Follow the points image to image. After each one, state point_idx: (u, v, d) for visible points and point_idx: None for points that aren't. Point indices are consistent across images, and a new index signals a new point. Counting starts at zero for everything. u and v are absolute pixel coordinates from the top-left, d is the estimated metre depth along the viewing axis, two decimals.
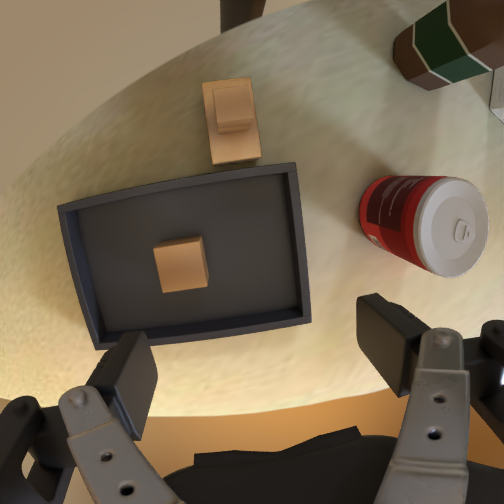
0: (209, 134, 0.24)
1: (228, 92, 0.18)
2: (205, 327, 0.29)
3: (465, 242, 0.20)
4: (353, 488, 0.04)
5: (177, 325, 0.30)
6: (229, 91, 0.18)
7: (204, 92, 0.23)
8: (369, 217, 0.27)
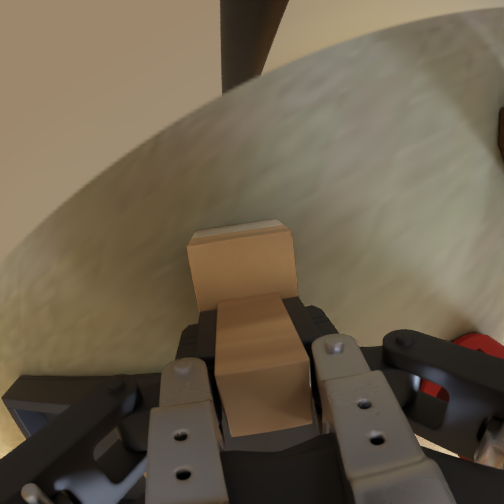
0: None
1: (257, 381, 0.07)
2: None
3: None
4: None
5: None
6: (259, 378, 0.07)
7: (193, 269, 0.12)
8: None
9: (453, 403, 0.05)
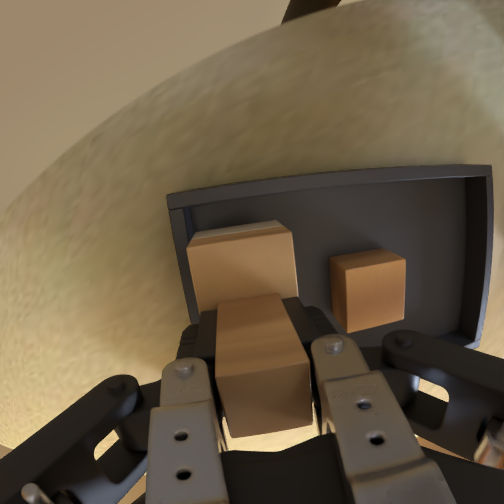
0: None
1: (257, 382, 0.07)
2: None
3: None
4: None
5: None
6: (259, 380, 0.07)
7: (194, 270, 0.12)
8: None
9: (453, 403, 0.05)
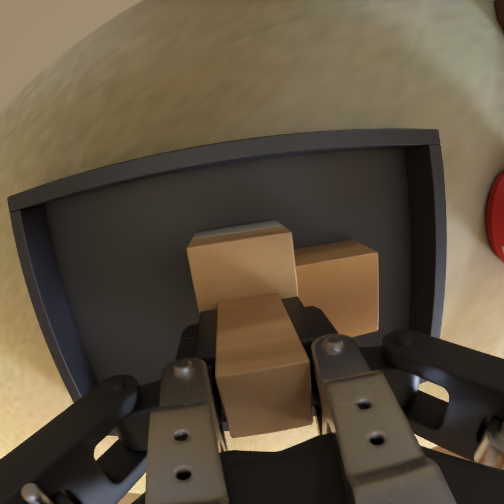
0: None
1: (257, 382, 0.07)
2: None
3: None
4: None
5: None
6: (260, 380, 0.07)
7: (194, 270, 0.12)
8: None
9: (453, 403, 0.05)
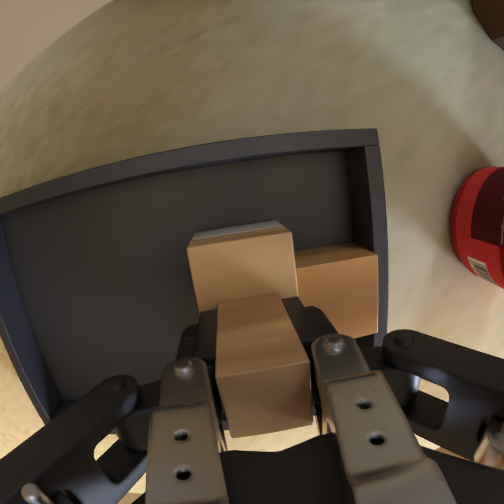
0: None
1: (257, 382, 0.07)
2: None
3: None
4: None
5: None
6: (260, 380, 0.07)
7: (194, 270, 0.12)
8: (478, 231, 0.14)
9: (453, 403, 0.05)
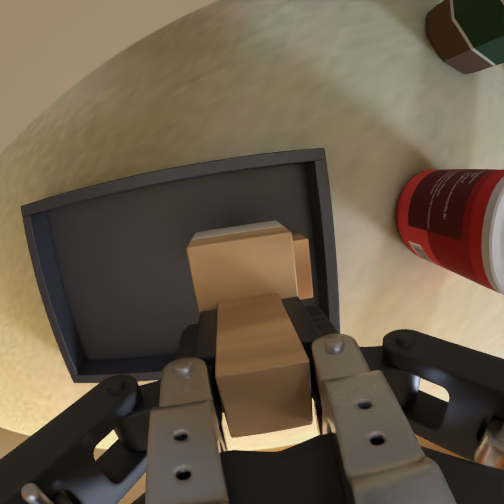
0: None
1: (257, 382, 0.07)
2: None
3: None
4: None
5: (172, 355, 0.23)
6: (259, 379, 0.07)
7: (194, 270, 0.12)
8: (413, 220, 0.20)
9: (453, 403, 0.05)
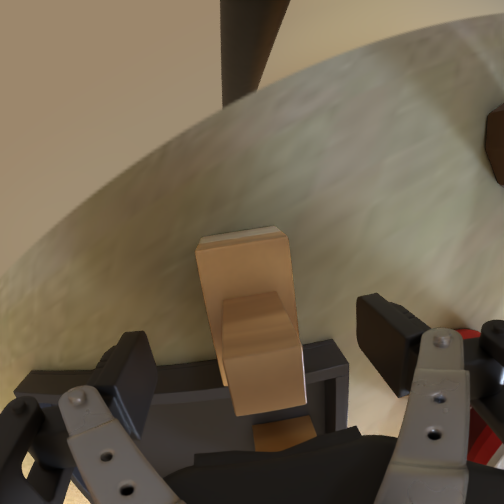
0: (216, 346, 0.14)
1: (258, 364, 0.09)
2: None
3: None
4: (353, 488, 0.04)
5: None
6: (260, 362, 0.09)
7: (201, 271, 0.13)
8: None
9: None
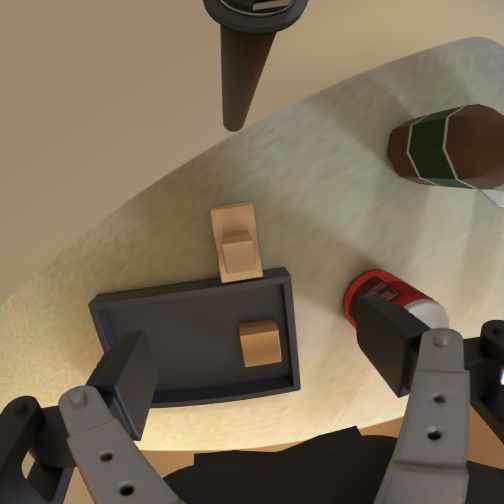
0: (218, 258, 0.29)
1: (235, 247, 0.24)
2: (216, 393, 0.35)
3: None
4: (353, 488, 0.04)
5: (193, 389, 0.36)
6: (236, 246, 0.24)
7: (212, 220, 0.28)
8: (351, 313, 0.32)
9: None
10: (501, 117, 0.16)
